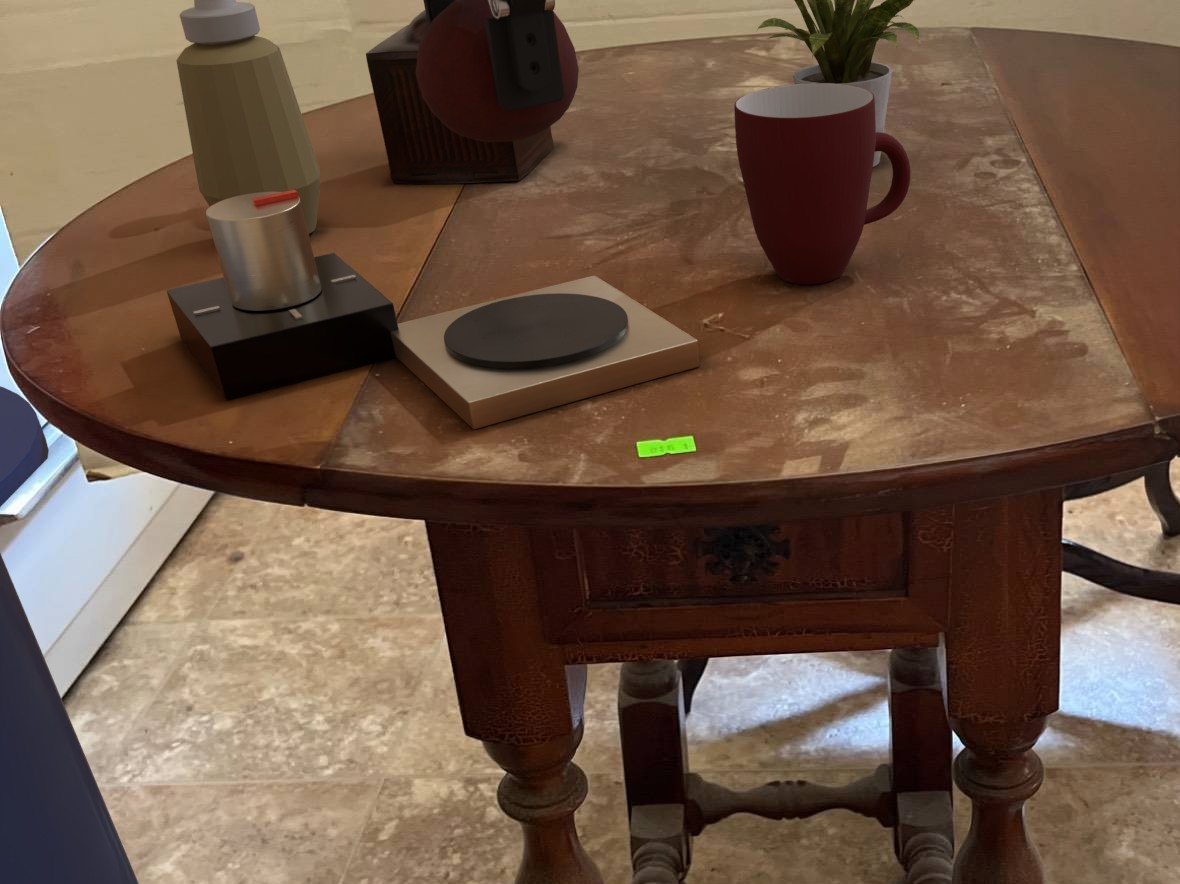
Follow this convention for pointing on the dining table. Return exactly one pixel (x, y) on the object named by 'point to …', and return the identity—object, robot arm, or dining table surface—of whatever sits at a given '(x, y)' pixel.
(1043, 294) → the dining table surface
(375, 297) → the control panel
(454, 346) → the hotplate
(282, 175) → the squeeze bottle
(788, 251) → the mug
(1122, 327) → the dining table surface
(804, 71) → the house plant
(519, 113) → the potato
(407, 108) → the grooved wooden box
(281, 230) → the dial
